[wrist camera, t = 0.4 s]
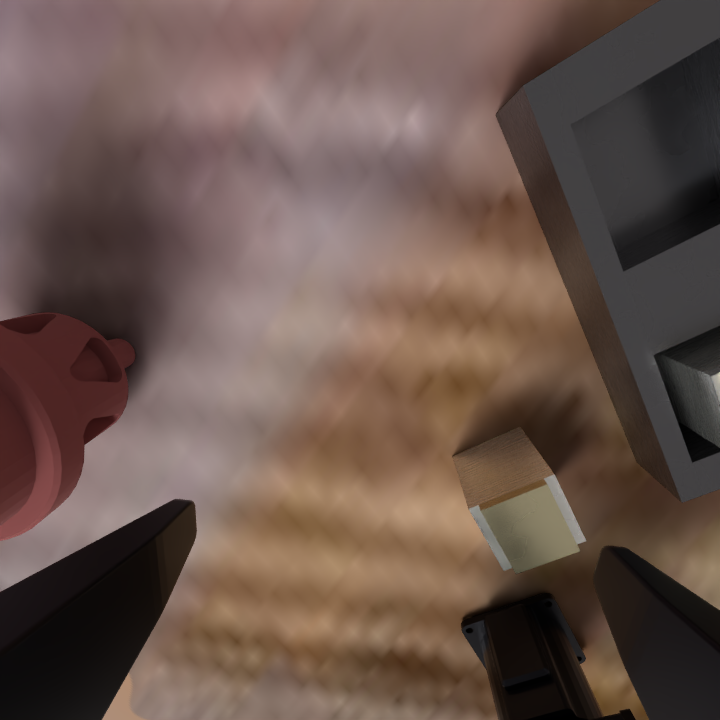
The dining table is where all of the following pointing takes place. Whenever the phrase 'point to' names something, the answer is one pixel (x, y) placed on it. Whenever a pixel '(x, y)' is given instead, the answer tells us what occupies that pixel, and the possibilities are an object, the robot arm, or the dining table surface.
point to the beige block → (694, 382)
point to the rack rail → (634, 210)
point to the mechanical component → (52, 410)
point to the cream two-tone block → (517, 502)
